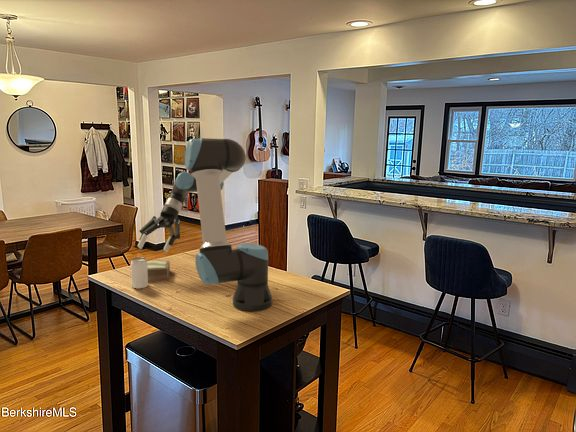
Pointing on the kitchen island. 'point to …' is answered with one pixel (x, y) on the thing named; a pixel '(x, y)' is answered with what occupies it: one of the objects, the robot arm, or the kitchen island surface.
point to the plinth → (158, 270)
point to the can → (139, 273)
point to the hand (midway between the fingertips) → (152, 249)
